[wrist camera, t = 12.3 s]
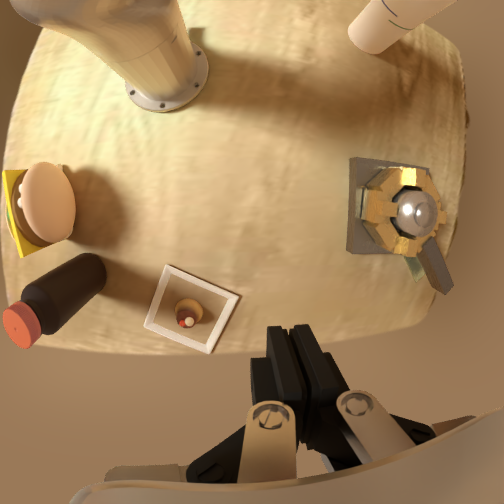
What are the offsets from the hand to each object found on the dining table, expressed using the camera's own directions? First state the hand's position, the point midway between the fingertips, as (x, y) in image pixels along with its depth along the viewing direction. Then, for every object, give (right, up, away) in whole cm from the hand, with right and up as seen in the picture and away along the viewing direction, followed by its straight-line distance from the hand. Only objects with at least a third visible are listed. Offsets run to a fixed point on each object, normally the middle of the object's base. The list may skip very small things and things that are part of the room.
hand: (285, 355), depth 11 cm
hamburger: (-32, +13, +25) cm, 42 cm away
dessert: (-11, -5, +31) cm, 34 cm away
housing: (+22, +8, +29) cm, 38 cm away
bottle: (-28, +1, +28) cm, 40 cm away
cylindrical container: (+18, +41, +21) cm, 49 cm away
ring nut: (+24, +7, +27) cm, 37 cm away
